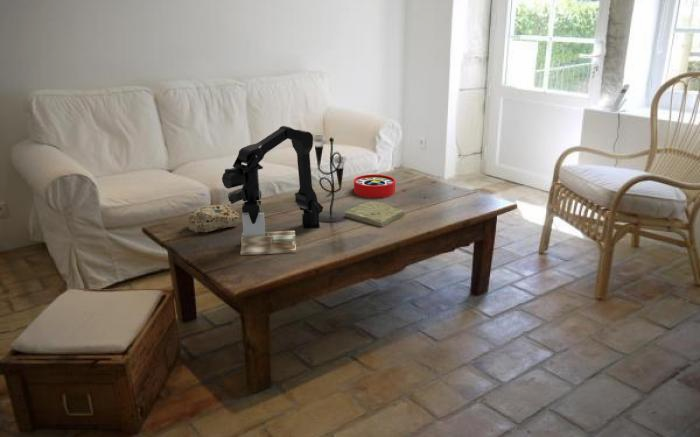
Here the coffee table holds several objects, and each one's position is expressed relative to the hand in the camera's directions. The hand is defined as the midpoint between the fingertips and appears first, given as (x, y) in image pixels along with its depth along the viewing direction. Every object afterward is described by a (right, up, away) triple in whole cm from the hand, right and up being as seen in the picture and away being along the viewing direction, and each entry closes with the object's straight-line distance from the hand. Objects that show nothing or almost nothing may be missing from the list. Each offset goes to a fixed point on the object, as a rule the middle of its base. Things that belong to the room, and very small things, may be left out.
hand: (253, 222), depth 214 cm
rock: (-20, -2, +21) cm, 29 cm away
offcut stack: (+11, -9, -1) cm, 14 cm away
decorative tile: (+47, +2, +33) cm, 57 cm away
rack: (+5, -9, +2) cm, 11 cm away
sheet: (0, -6, +2) cm, 6 cm away
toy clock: (+48, +14, +65) cm, 82 cm away
